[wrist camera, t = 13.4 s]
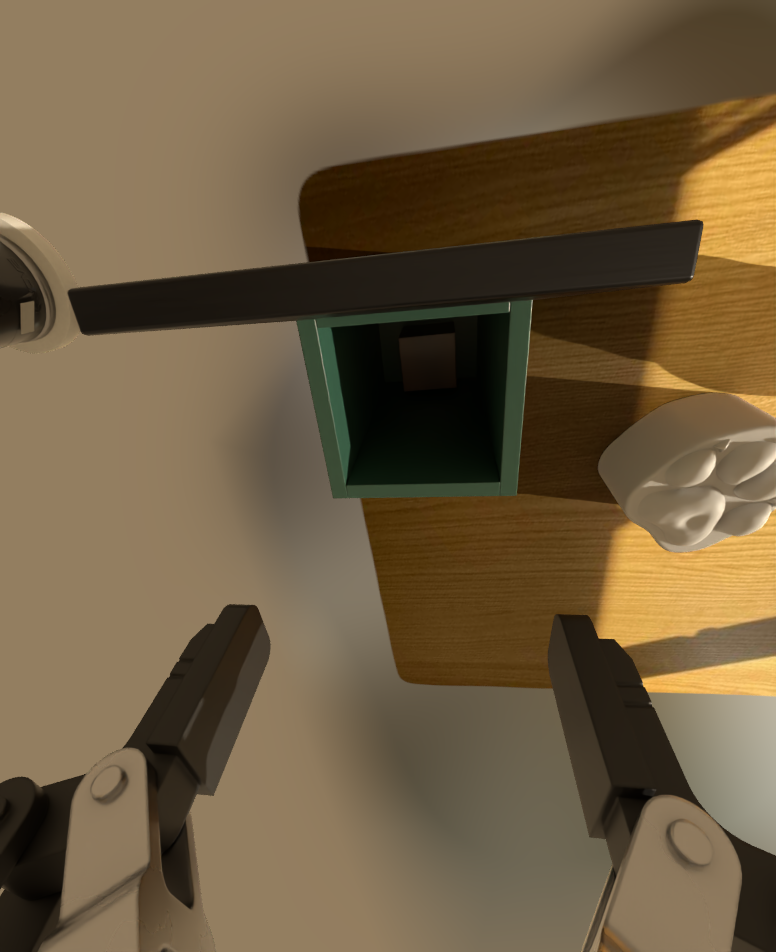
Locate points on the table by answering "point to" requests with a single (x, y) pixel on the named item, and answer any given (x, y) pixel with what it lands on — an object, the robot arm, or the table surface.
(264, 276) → the box lid
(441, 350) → the block
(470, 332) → the green box
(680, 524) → the lumpy-topped squat cylinder
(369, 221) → the table surface
